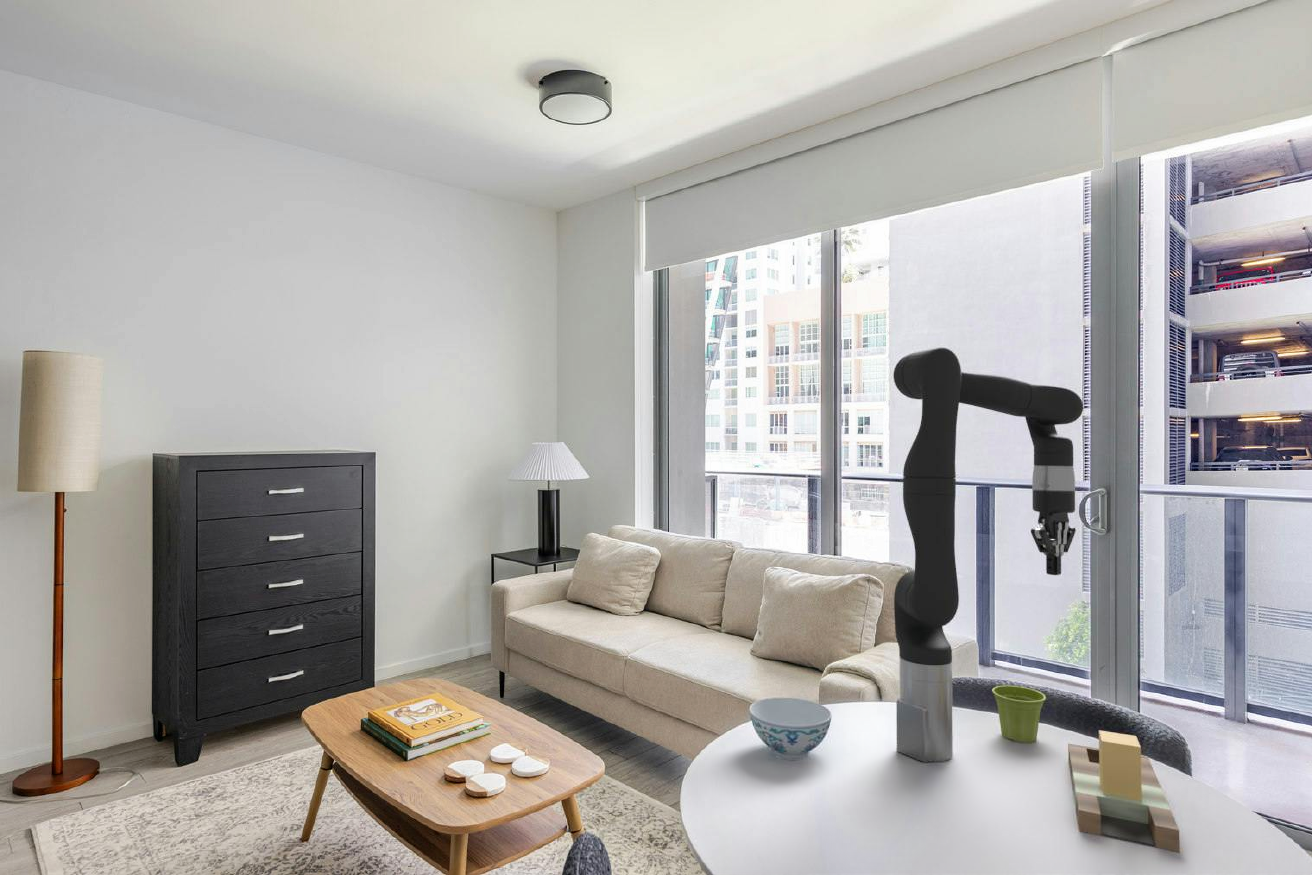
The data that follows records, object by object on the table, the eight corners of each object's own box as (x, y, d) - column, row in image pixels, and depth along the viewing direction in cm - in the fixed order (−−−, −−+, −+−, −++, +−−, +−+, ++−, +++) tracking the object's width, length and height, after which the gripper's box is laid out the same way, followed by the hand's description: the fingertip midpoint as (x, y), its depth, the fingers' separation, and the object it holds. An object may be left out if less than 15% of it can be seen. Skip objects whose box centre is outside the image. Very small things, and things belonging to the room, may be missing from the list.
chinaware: (802, 732, 140) (802, 693, 140) (848, 762, 126) (848, 719, 126) (735, 743, 135) (735, 702, 135) (775, 775, 121) (775, 730, 121)
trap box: (1068, 760, 128) (1068, 743, 128) (1148, 774, 122) (1147, 756, 122) (1078, 830, 103) (1078, 809, 103) (1179, 852, 98) (1179, 830, 98)
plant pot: (1056, 747, 134) (1055, 701, 134) (1006, 746, 134) (1006, 700, 134) (1030, 728, 143) (1030, 685, 143) (984, 728, 143) (983, 685, 144)
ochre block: (1099, 780, 113) (1098, 730, 113) (1137, 787, 111) (1136, 735, 111) (1102, 793, 108) (1101, 740, 109) (1141, 800, 106) (1140, 747, 106)
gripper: (1054, 489, 136) (1055, 579, 135) (1089, 489, 143) (1090, 574, 142) (1016, 487, 142) (1017, 574, 141) (1052, 487, 149) (1052, 569, 148)
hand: (1053, 574), depth 142 cm, fingers closed
